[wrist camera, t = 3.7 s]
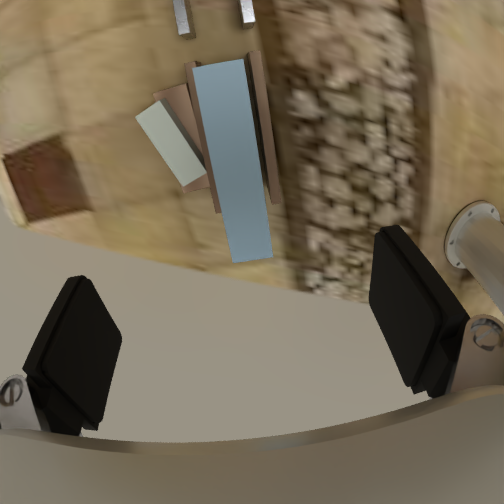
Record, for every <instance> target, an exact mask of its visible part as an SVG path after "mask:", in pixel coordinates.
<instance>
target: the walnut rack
mask: <svg viewBox="0 0 504 504" xmlns="http://www.w3.org/2000/svg"><path fill="white" fill-rule="evenodd" d="M247 57H248V63H249V69H250V75H251V81H252V87H253V94H254V100H255V106H256V113H257V119H258V126H259V133H260V139H261V146H262V153H263V160H264V167H265V174H266V181H267V187H268V191H269V195H270V199H271V203H272V204H279V203H281V196H280V187H279V179H278V171H277V163H276V156H275V148H274V141H273V133H272V126H271V119H270V112H269V105H268V98H267V91H266V85H265V78H264V72H263V65H262V59H261V53H260V50H258V51H251V52H249V53H248V54H247ZM184 64H185V70H186V75H187V80H188V85H189V90H190V95H191V100H192V105H193V110H194V115H195V119H196V124H197V129H198V134H199V139H200V143H201V148H202V153H203V157H204V162H205V167H206V171H207V176H208V180H209V185H210V189H211V194H212V198H213V203H214V207H215V211H216V213H222V211H221V207H220V202H219V197H218V193H217V188H216V183H215V179H214V174H213V169H212V164H211V160H210V155H209V150H208V145H207V140H206V135H205V131H204V126H203V121H202V116H201V111H200V106H199V101H198V96H197V90H196V85H195V80H194V75H193V70H192V68H195V67H200V66H201V62H197V61H193V62H189V63H184Z"/></svg>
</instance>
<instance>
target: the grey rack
mask: <svg viewBox="0 0 504 504" xmlns="http://www.w3.org/2000/svg"><path fill="white" fill-rule="evenodd" d="M173 5H174V10H175V16H176V22H177V27H178V32H179V35H180V36H182V37H183V38H185V39H192V38H196V35H195V29H194V24H193V18H192V13H191V7H190V2H189V0H173ZM238 5H239V11H240V16H241V22H242V27H243V29H250V28H253V25H254V23H255V17H254V11H253V6H252V0H238Z"/></svg>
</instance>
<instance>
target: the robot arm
mask: <svg viewBox="0 0 504 504" xmlns="http://www.w3.org/2000/svg"><path fill="white" fill-rule="evenodd" d="M445 254H446V257H447V259H448V260H449V262H450V263H451V264H452V265H453V266H454V267H456V268H467V269H468V270H469V271H470V273H471V274H472V275H473V276H474V278H475V279H476V280H477V281H478V282H479V284H480V285H481V286H482V287H483V289H484V290H485V291H486V292H487V294H488V295H489V296H490V298H491V299H492V300H493V302H494V303H495V304H496V306H497V307H498V308H499V310H500V311H501V312H502V314H503V315H504V225H503V224H502V223H501V222H500V215H499V212H498V210H497V209H496V208H495V207H494V206H493V205H492V204H491V203H489V202H486V201H477V202H475V203H472V204H470V205H469V206H467V207H466V208H465V209H463V210H462V211H461V212H460V213H459V214H458V216H457V217H456V218H455V220H454V221H453V223H452V224H451V226H450V228H449V231H448V233H447V236H446V240H445ZM369 304H370V307H371V309H372V311H373V313H374V316H375V318H376V320H377V322H378V324H379V326H380V329H381V331H382V333H383V335H384V337H385V340H386V342H387V344H388V346H389V348H390V350H391V353H392V355H393V358H394V360H395V362H396V365H397V367H398V369H399V372H400V374H401V376H402V379H403V381H404V383H405V385H406V386H407V387H410V386H411V389H412V391H413V393H414V394H417V393H420V392H423V391H427V394H428V396H429V397H430V399H429V400H427V401H424V402H421V403H418V404H415V405H411V406H408V407H405V408H402V409H398V410H395V411H391V412H388V413H384V414H380V415H377V416H373V417H369V418H365V419H361V420H357V421H353V422H349V423H344V424H340V425H335V426H331V427H326V428H321V429H315V430H310V431H304V432H298V433H292V434H285V435H278V436H271V437H262V438H253V439H243V440H231V441H215V442H188V443H161V442H133V441H118V440H106V439H96V438H88V437H83V435H82V433H81V428H82V427H83V428H84V429H86V430H96V431H97V430H98V426H99V423H100V422H101V421H102V419H103V416H104V411H105V406H106V402H107V397H108V393H109V389H110V385H111V381H112V377H113V373H114V369H115V365H116V362H117V358H118V354H119V350H120V346H121V343H122V336H121V333H120V331H119V329H118V328H117V326H116V324H115V323H114V321H113V319H112V317H111V316H110V314H109V312H108V311H107V309H106V307H105V305H104V303H103V302H102V300H101V298H100V296H99V294H98V293H97V291H96V289H95V287H94V285H93V283H92V281H91V280H90V279H87V278H86V277H85V276H83V275H81V276H74V277H70V278H68V279H67V281H66V282H65V284H64V286H63V288H62V289H61V291H60V293H59V295H58V297H57V299H56V300H55V302H54V304H53V306H52V308H51V310H50V312H49V314H48V316H47V317H46V319H45V321H44V323H43V325H42V327H41V329H40V331H39V333H38V335H37V337H36V339H35V342H34V344H33V346H32V348H31V350H30V352H29V354H28V357H27V359H26V361H25V364H24V366H23V368H22V369H23V371H24V372H25V373H26V374H27V378H26V379H25V378H24V377H23V376H22V375H18V374H16V375H12V376H10V377H8V378H7V379H6V380H5V381H4V382H3V383H2V384H1V386H0V504H504V324H503V323H502V322H501V321H500V320H499V319H497V318H495V317H493V316H491V315H486V314H480V315H476V316H473V317H471V318H470V317H469V315H468V314H467V312H466V311H465V309H464V308H463V306H462V305H461V304H460V302H459V301H458V299H457V298H456V296H455V295H454V294H453V292H452V291H451V290H450V288H449V287H448V286H447V284H446V283H445V282H444V280H443V279H442V278H441V276H440V275H439V274H438V272H437V271H436V270H435V268H434V267H433V266H432V265H431V263H430V262H429V261H428V259H427V258H426V257H425V256H424V254H423V253H422V252H421V251H420V250H419V248H418V247H417V246H416V245H415V243H414V242H413V241H412V240H411V239H410V237H409V236H408V235H407V234H406V233H405V232H404V230H403V229H402V228H401V227H400V226H399V225H393V226H386V227H382V228H380V231H379V232H378V233H376V234H375V240H374V252H373V263H372V273H371V282H370V291H369Z"/></svg>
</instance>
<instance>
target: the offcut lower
mask: <svg viewBox="0 0 504 504" xmlns="http://www.w3.org/2000/svg"><path fill="white" fill-rule="evenodd" d="M153 95H154V99H155V102H158V101H159V100H161V99H163V98H165V99H166V100H167V102H168V103H169V105H170V106H171V108H172V109H173V111H174V112H175V114H176V115H177V117H178V118H179V120H180V122H181V123H182V125H183V126H184V128H185V129H186V131H187V132H188V134H189V135H190V137H191V138H192V140H193V141H194V143H195V144H196V146H197V147H198V149H199V151H200V152H201V154H202V155H203V153H202V148H201V143H200V139H199V134H198V129H197V124H196V119H195V115H194V110H193V105H192V100H191V95H190V90H189V85H188V83H185V84H182V85H178V86H175V87H172V88H168V89H165V90H162V91H159V92H156V93H153ZM180 185H181V183H180ZM207 187H210V185H209V180H208V176H207V173H206V174H204V175H202V176H201V177H199V178H197V179H195V180H194V181H192V182H190V183H189V184H187V185H185V186H184V187H183V186H182V185H181V188H182V191H183V193H187V192H191V191H195V190H199V189H203V188H207Z"/></svg>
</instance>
